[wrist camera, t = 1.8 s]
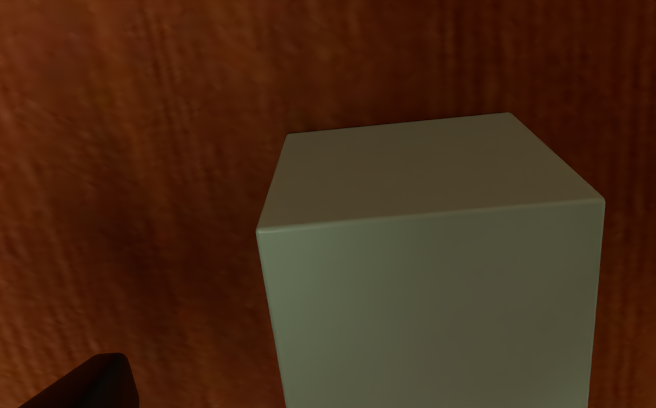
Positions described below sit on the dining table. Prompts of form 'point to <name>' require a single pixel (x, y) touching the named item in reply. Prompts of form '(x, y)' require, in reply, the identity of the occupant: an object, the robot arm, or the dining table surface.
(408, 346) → the green block
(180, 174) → the dining table surface
